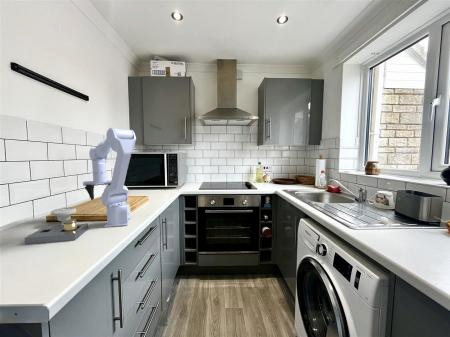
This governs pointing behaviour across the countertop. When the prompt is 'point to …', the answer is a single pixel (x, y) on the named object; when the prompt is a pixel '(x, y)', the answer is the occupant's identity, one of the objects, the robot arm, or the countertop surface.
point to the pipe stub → (70, 225)
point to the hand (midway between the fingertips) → (100, 199)
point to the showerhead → (63, 213)
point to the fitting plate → (55, 234)
